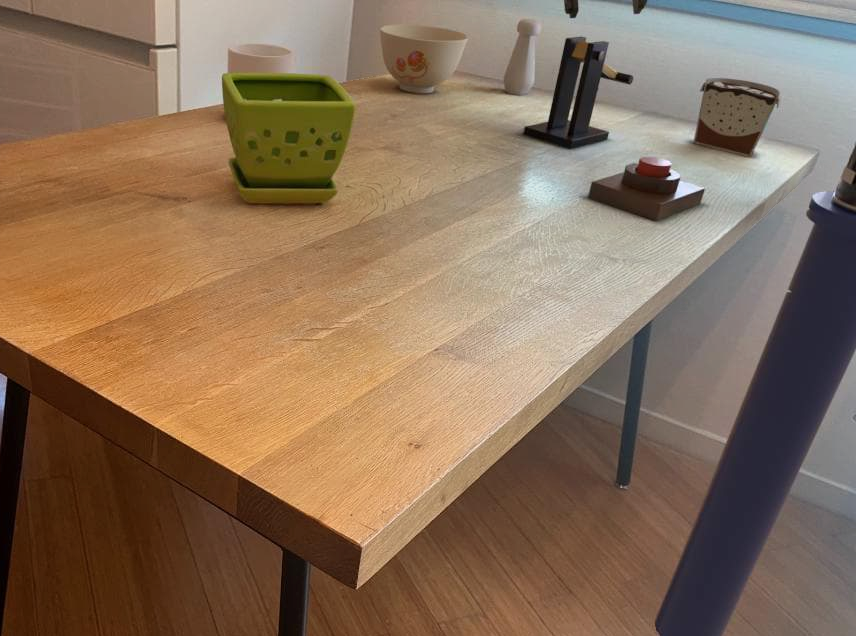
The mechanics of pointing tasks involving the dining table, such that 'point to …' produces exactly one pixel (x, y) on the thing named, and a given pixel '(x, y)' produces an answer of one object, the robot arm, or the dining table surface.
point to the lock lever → (607, 70)
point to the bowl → (421, 55)
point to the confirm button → (654, 166)
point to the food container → (734, 114)
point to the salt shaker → (522, 59)
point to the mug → (260, 59)
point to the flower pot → (286, 135)
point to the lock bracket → (578, 128)
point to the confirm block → (646, 193)
